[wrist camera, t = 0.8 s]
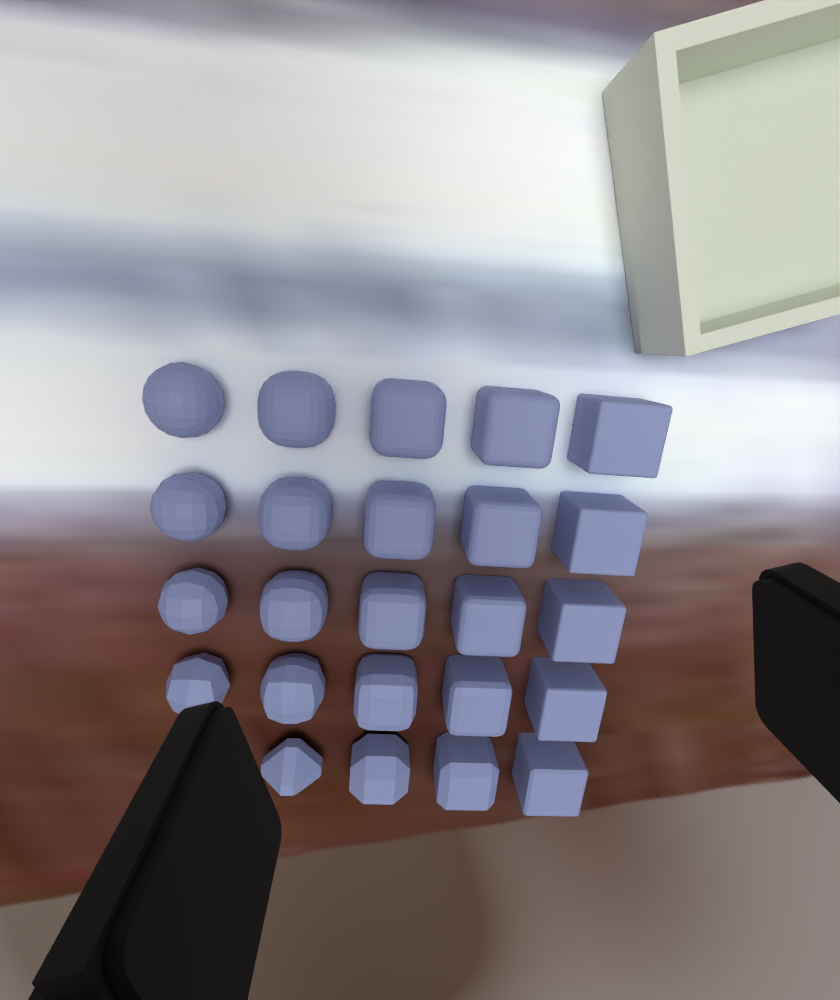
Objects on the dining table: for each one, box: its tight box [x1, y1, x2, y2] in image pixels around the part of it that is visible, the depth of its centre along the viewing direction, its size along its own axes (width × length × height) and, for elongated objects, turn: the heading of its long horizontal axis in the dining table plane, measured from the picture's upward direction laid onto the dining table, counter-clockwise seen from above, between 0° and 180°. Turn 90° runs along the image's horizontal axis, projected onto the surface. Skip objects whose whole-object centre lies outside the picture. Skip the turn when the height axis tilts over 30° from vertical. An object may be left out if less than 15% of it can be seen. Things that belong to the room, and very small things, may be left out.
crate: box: [602, 0, 840, 356], centre depth 31 cm, size 16×20×6 cm
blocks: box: [142, 362, 672, 816], centre depth 40 cm, size 35×34×5 cm
